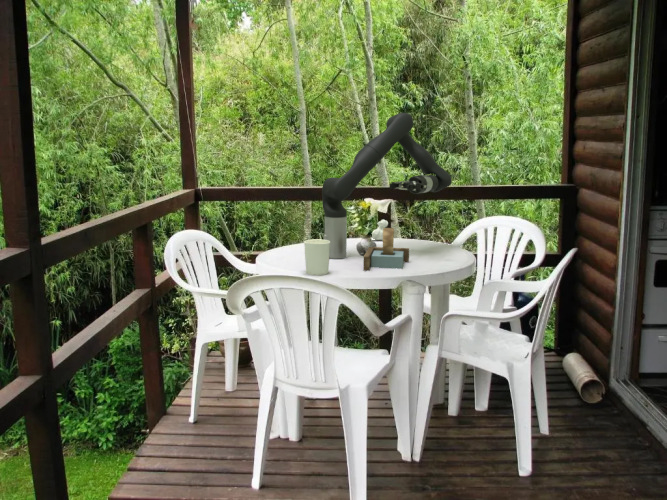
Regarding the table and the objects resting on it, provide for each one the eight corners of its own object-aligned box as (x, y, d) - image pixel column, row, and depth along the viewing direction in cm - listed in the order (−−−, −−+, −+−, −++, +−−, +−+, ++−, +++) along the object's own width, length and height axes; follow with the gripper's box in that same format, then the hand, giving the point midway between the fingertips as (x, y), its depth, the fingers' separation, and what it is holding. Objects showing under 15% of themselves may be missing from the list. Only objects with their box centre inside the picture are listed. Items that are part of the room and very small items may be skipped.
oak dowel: (382, 264, 260) (382, 229, 257) (382, 262, 264) (383, 227, 261) (392, 264, 259) (393, 229, 257) (393, 262, 264) (394, 228, 261)
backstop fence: (363, 270, 252) (363, 256, 251) (369, 259, 271) (369, 246, 270) (406, 272, 249) (406, 257, 248) (408, 261, 269) (409, 248, 268)
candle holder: (302, 270, 251) (301, 239, 249) (327, 269, 253) (327, 238, 251) (306, 276, 242) (306, 244, 239) (332, 275, 244) (333, 243, 242)
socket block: (371, 268, 257) (371, 256, 256) (373, 262, 269) (374, 250, 268) (402, 269, 255) (402, 257, 254) (403, 263, 267) (403, 251, 266)
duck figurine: (373, 246, 314) (385, 229, 308) (363, 235, 317) (375, 218, 311) (387, 243, 323) (399, 226, 317) (377, 232, 326) (389, 215, 320)
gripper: (406, 174, 284) (384, 176, 271) (435, 176, 275) (414, 178, 263) (405, 192, 285) (384, 194, 273) (434, 194, 276) (413, 197, 264)
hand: (399, 186), depth 268 cm, fingers open, 8 cm apart
